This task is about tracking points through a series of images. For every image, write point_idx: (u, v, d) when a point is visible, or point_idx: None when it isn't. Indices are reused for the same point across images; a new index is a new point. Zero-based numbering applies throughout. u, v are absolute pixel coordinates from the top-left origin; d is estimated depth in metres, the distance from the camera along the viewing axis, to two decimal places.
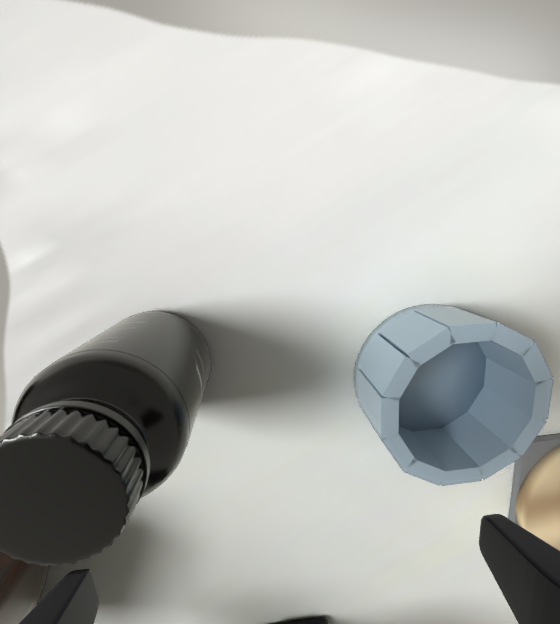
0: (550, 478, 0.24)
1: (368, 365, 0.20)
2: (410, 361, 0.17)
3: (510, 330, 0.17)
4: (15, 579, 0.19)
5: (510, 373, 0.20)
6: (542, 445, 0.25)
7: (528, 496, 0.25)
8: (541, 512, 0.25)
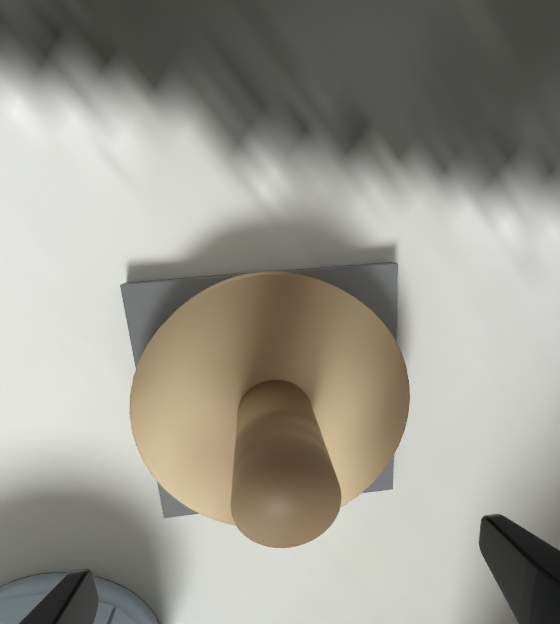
0: (207, 509, 0.14)
1: None
2: None
3: None
4: None
5: None
6: None
7: None
8: None
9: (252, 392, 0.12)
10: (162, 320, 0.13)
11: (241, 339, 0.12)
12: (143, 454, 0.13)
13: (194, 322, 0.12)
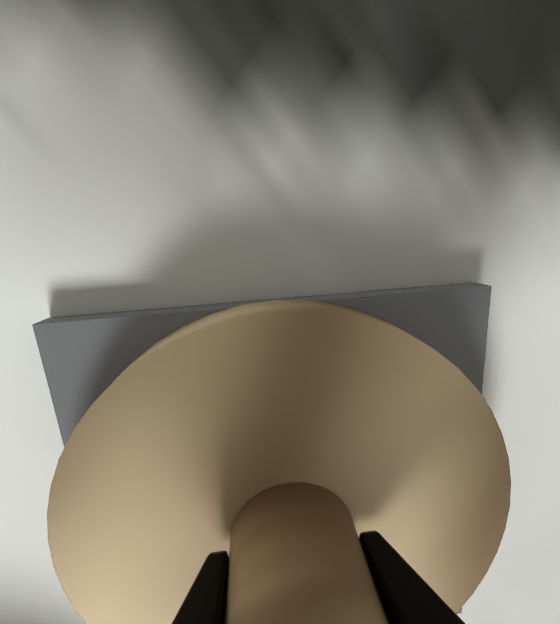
0: None
1: None
2: None
3: None
4: None
5: None
6: None
7: None
8: None
9: (256, 508, 0.07)
10: (106, 381, 0.08)
11: (236, 420, 0.07)
12: (75, 602, 0.08)
13: (155, 394, 0.07)
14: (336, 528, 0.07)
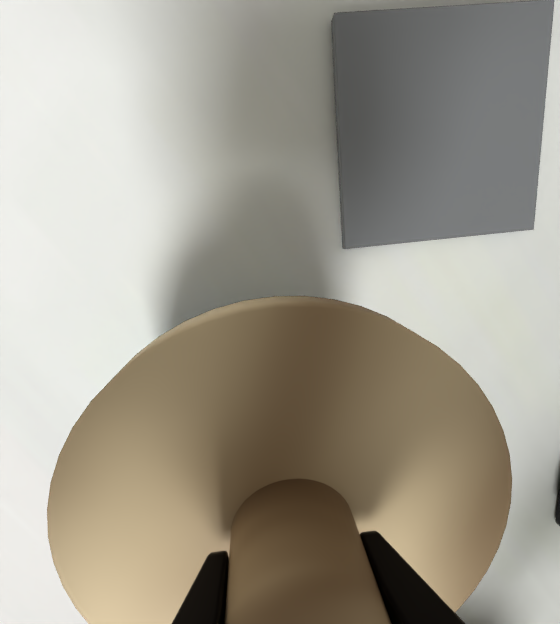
0: None
1: None
2: None
3: None
4: None
5: None
6: (350, 219, 0.17)
7: None
8: None
9: (256, 504, 0.07)
10: (363, 49, 0.16)
11: (237, 416, 0.07)
12: (76, 598, 0.08)
13: (155, 389, 0.07)
14: (337, 524, 0.07)
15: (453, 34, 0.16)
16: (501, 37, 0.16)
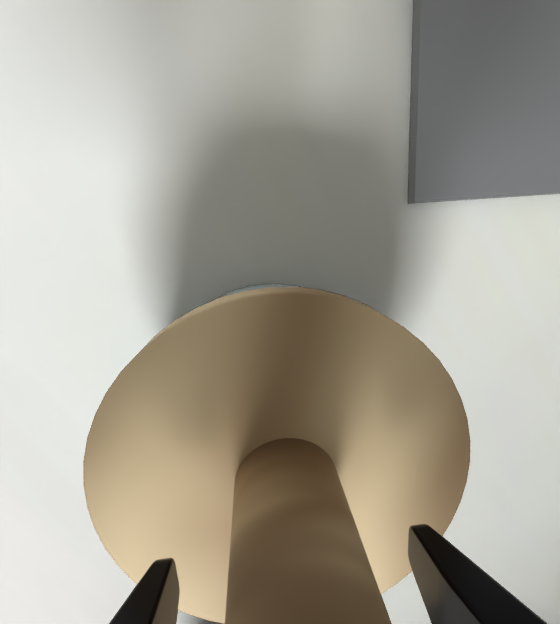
0: (194, 606, 0.10)
1: None
2: None
3: None
4: None
5: None
6: (424, 162, 0.13)
7: None
8: None
9: (255, 458, 0.09)
10: None
11: (240, 384, 0.09)
12: (105, 539, 0.09)
13: (173, 361, 0.08)
14: (321, 470, 0.08)
15: None
16: None
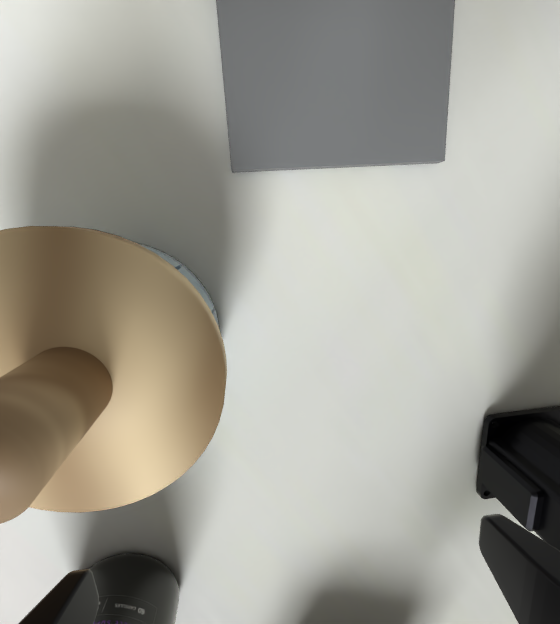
0: None
1: None
2: None
3: None
4: None
5: None
6: (236, 135, 0.15)
7: None
8: (91, 488, 0.13)
9: (30, 359, 0.11)
10: None
11: (14, 300, 0.11)
12: None
13: None
14: (70, 363, 0.10)
15: None
16: None
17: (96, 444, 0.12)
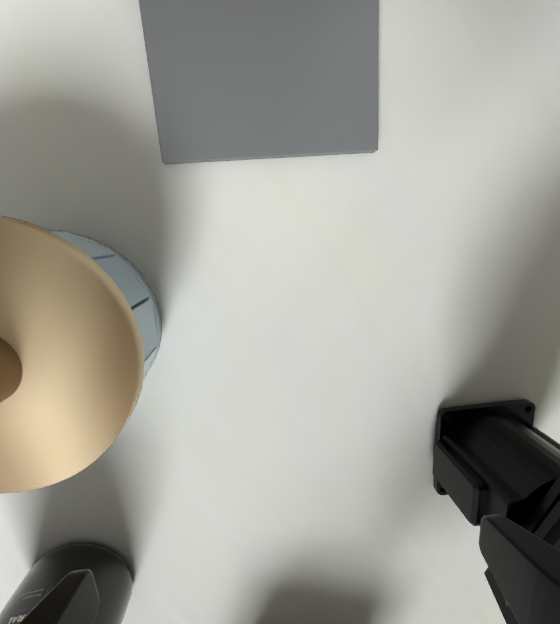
0: None
1: None
2: None
3: None
4: None
5: None
6: (165, 127, 0.16)
7: None
8: (8, 469, 0.13)
9: None
10: None
11: None
12: None
13: None
14: None
15: None
16: None
17: (10, 426, 0.13)
